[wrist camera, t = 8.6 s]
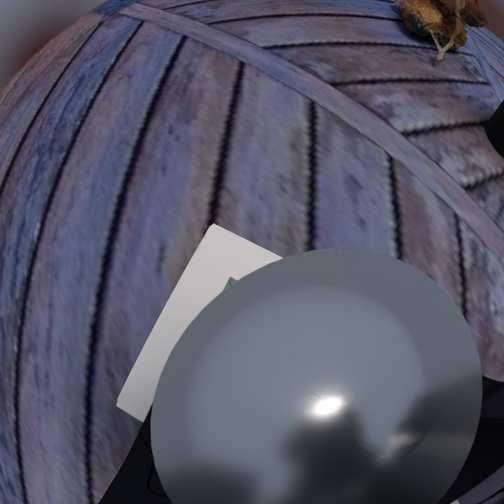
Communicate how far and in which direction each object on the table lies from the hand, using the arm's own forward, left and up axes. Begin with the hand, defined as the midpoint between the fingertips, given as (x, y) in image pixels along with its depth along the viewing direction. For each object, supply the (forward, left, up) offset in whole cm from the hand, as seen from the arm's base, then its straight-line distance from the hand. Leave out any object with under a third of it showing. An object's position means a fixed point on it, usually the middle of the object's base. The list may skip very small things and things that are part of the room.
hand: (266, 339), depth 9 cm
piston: (-1, -1, -7) cm, 7 cm away
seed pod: (+48, -6, -9) cm, 49 cm away
